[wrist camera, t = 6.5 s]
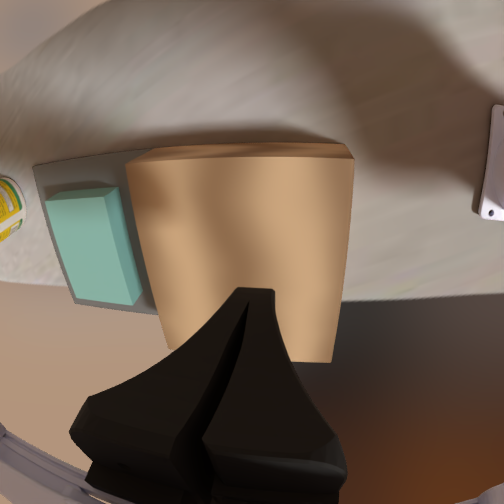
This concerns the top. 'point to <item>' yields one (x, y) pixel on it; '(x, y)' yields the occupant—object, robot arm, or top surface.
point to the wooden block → (246, 234)
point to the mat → (91, 177)
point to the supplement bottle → (11, 208)
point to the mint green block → (95, 244)
